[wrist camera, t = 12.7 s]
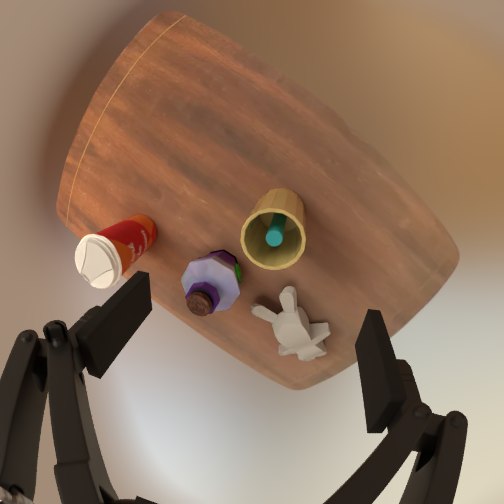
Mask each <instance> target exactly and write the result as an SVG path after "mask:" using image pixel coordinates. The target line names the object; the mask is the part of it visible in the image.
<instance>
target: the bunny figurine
mask: <svg viewBox="0 0 504 504" xmlns="http://www.w3.org/2000/svg"><path fill="white" fill-rule="evenodd" d="M279 299H280V302H281V305H282V307H283V311H282V312H281V313H279V314H277V315H276V314H275V313H273V312H272V311H270V310H268V309H267V308H265V307H264V306H262V305H260V304H253V305H252V306H251V307H250V308H251V311H252V313H253V314H254V315H255V316H257V317H259V318H262V319H264V320H266V321H269V322H271V323H272V326H273V330H274V334H275V337H276V338H277V340H278V341H279V342H280V344H279V354H280V355H281V356H282V355H288V354H294V353H297V354H298V358H299V360H300V361H305V360H306V361H307V362H309V361H311V360H313V359H315V356H316V357H320V356H323V355H325V354H327V352H326V347H325V345H324V342H323V339H324V338H326V337H327V336H329V335H330V328H329V325H328V323H316V324H310V323H309V319H308V317H307V315H306V313H305V311H304V310H303V309H302V308H301V307H297V294H296V290H295V288H294V287H292V286H288V287H285V288H284V289H283V291H282V292H281V294H280V297H279Z"/></svg>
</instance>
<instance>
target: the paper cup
mask: <svg viewBox="0 0 504 504" xmlns="http://www.w3.org/2000/svg"><path fill="white" fill-rule="evenodd" d="M156 236H157V230H156V226H155V224H154V223H153V221H152V220H151V219H150V218H149V217H147V216H145V215H136V216H133V217H131V218H129V219H126V220H124V221H122V222H119V223H117V224H115V225H113V226H111V227H109V228H106V229H104V230H102V231H100V232H98V233H96V234H89V235H86V236H85V237H83V238H82V240H81V241H80V243H79V245H78V247H77V249H76V252H75V263H76V266H77V269H78V271H79V273H80V274H82V275H83V277H84V279H85V280H86V281H87V282H89V283H90V284H91V283H92V284H91V286H93V287H95V288H101V289H102V288H108V287H112V286H115V285H116V284H117V283H118V282H119V280H120V278H121V276H122V275H123V274H124V272H125V271H126V270H127V269H128V268H129V267H130V266H131V265H132V264H133V263H134V262H135V261H136V260H137V259H138V258H139V257H140V256H141V255H142V254H143V253H144V252H145V251H146V250H147V249H148V248H149V247H150V246H151V245H152V244H153V243H154V241H155V239H156Z"/></svg>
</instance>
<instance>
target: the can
mask: <svg viewBox="0 0 504 504" xmlns="http://www.w3.org/2000/svg"><path fill="white" fill-rule="evenodd" d="M274 212H276V213H282V214H284V215H286V216H287V219H286V224H285V230H284V235H283V240H282V243H281V244H280V245H278V246H271V245H269V244H268V243H267V241H266V235H267V232H268V229H269V226H270V224H271V221H272V218H273V215H274ZM305 243H306V221H305V209H304V205H303V202H302V200H301V199H300V197H299V196H298V195H297V194H296V193H294V192H293V191H291V190H288V189H285V188H276V189H272V190H270V191H268V192H266V193H265V194H264V195H263V196H262V197H261V198H260V200H259V201H258V203H257V205H256V206H255V208H254V209H253V211H252V212H251V214H250V215H249V217H248V219H247V220H246V222H245V224H244V226H243V228H242V230H241V245H242V248H243V251H244V253H245V254H246V256H247V257H248V258H249V259H250V260H251V262H253V263H254V264H256V265H258V266H260V267H262V268H264V269H271V270H279V269H283V268H287V267H289V266H291V265H292V264H294V263H295V262H297V261H298V259H299V258H300V256H301V255H302V253H303V252H304V249H305Z"/></svg>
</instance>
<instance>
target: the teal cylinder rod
mask: <svg viewBox="0 0 504 504" xmlns="http://www.w3.org/2000/svg"><path fill="white" fill-rule="evenodd" d="M286 219H287V216H286V215H284V214H282V213H276V212H274V215H273V218H272V221H271V224H270V226H269V229H268V232H267V235H266V241H267V243H268V244H269V245H271V246H278V245H280V244H281V243H282V240H283V235H284V230H285V224H286Z"/></svg>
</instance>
